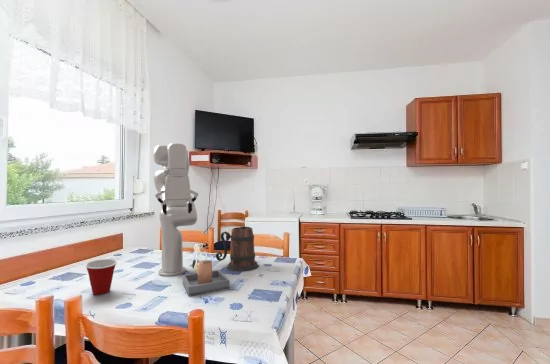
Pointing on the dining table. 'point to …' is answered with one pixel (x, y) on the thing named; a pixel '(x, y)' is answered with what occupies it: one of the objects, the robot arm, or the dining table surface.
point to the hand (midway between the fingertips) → (177, 213)
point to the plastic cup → (101, 275)
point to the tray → (217, 283)
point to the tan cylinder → (204, 271)
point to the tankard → (240, 250)
